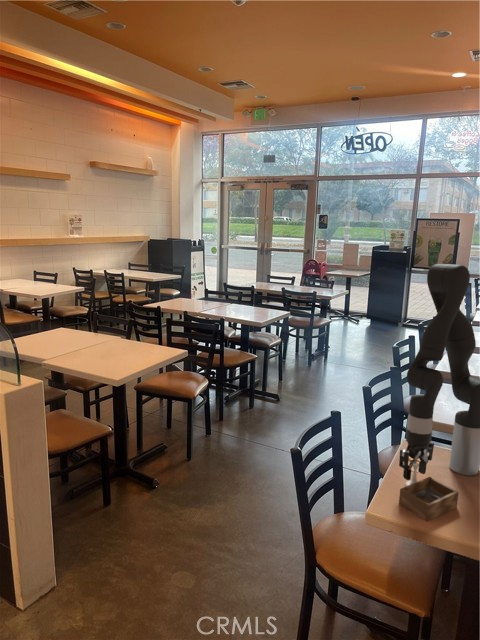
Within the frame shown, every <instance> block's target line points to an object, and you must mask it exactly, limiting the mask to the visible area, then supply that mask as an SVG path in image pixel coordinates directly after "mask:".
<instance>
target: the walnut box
mask: <svg viewBox="0 0 480 640" xmlns="http://www.w3.org/2000/svg"><path fill="white" fill-rule="evenodd" d="M425 498H426V499H428V500H430V501H431V502H429V503H428V502H427V501H425V500H423V499H425ZM458 499H459V491H458V490H456V489H453V488H452V487H450V486H448V485H447V484H444V483H442V482H440V481H438V480H437V479H435V478H433V477H432V476H427V477H426V478H424V479H420V480H417V482H416V483H413V484H411V485H409V486H406V485H405V486H404V487H402V488H400V489H399V498H398V504H399V505H400V506H401V507H403V508H405V509H407V510H408V511H410V512H411V513H413V514H414V515H416V516H417V517H419V518H421V519H422V520H424V521H426V522H429V521H432V520H434V519H436V518H437V517H439V516H441V515H444V514H446V513H448V512H450V511H452V510H453V509H456V508H457V507H458Z"/></svg>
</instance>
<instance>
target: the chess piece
mask: <svg viewBox="0 0 480 640" xmlns="http://www.w3.org/2000/svg"><path fill="white" fill-rule="evenodd" d="M419 461H420V459H417V461H416V463H415V464H413V466H412V468H411V473H412V475H411V479H410V480H407V481H406V483H405V487H406V486H409V485H411V484H413V483H416V482H418V480H417V477H418V475H417V474H418V473H420V472H419V471H418V469H419Z"/></svg>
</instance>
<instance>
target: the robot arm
mask: <svg viewBox="0 0 480 640" xmlns="http://www.w3.org/2000/svg"><path fill="white" fill-rule="evenodd" d="M426 274H427V276H426V283H427V287H428V290H429V294H430V296H431V299H432V301H433V305H434V307H435V310H436V314H435V316H434V317H433V318H432V319H431V320H430V321H429V323H428V324H427V325H426V327H425V329H424V331H423V333H422V338H421V342H420V345H419V349H418V352H417V354H416V356H415V357H414V359H413V361H412V363H411V364H410V365H409V368H408V369H407V373H406V381H407V383H408V385H409V386H410V387H413V388H417V389H419V390H421V391H424V394H414V395H412V396H411V397H410V400H409V401H410V403H409V409H408V410H409V412H408V416H407V421H406V432H405V433H406V434H405V441H406V442H407V447H406V449H402V448H401V449H400V450H399V460H398V461H399V462H398V466H399V467H400V468H401V469H403V472H402V473H403V474H402V478H403V479H405V480H406V481H411V480H412V469H413V464H415V463H416V461H417V460H419V462H418V464H419V467H418V469H417V470H418V471H419V472H418V473H419V474H422V475H425V474H426V472H427V471H426V470H427V464H428V463H429V461H432V459H433V454H434V453H433V452H434V447H435V443H433V442H432V437H433V435H432V434H433V426H434V420H433V418H434V408H435V404H436V401H437V397H438V396H439V394H440V391H441V389H442V387H443V384H444V376H443V374H442V372H440V371H439V370H438V369H434V368H430V367H427V365H428V363H430V362H440V361H442V359H443V357H444V353H445V350H446V355H447V360H448V366H449V371H450V382H451V389H452V393H453V396H454V398H456V400H458V401H460V402H461V403H462V402H463V403H464V404H466V405H469V406H468V410H460V411H457V412H456V413H455V416H454V422H453V432H452V439H451V440H452V441H451V448H450V449H451V450H450V455H449V456H450V458H449V464H448V465H449V466H448V467H449V468H450V469H451V470H452V471H453V472H455V473H457V474H459V475H462V476H469V477H470V476H476V475H478V474H479V470H480V378H477V377H474V376H472V375H471V373H470V369H469V361H470V359H471V357H472V355H473V354H474V352H475V349H476V345H477V342H476V341H477V340H476V338H475V337H476V336H475V332H474V328H473V325H472V323H471V322H470V320H469V319H468V318H467V316H466V315H465V314H464V313H463V311H461V309H460V307H461V305H462V303H463V302H464V301H463V300H464V298H465V296H466V293H467V291H468V288H469V285H470V281H471V274H470V271H469V269H468V268H467V267H466V265H462V264H451V263H447V264H446V263H435V264H433V265H431V266H430V268H429V269H428V271H427V273H426Z"/></svg>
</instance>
